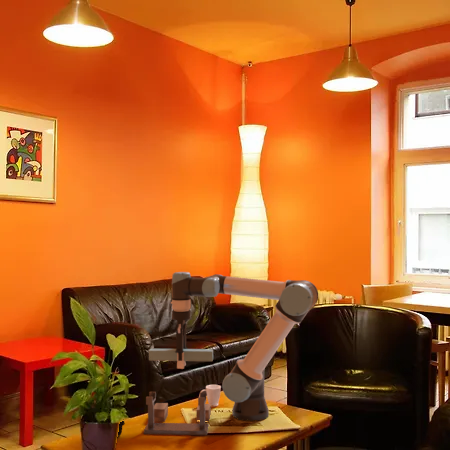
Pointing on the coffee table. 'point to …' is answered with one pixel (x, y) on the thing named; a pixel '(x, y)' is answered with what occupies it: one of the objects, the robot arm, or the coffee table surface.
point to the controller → (120, 428)
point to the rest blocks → (162, 412)
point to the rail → (188, 354)
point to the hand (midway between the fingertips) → (181, 366)
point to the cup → (213, 394)
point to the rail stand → (176, 427)
